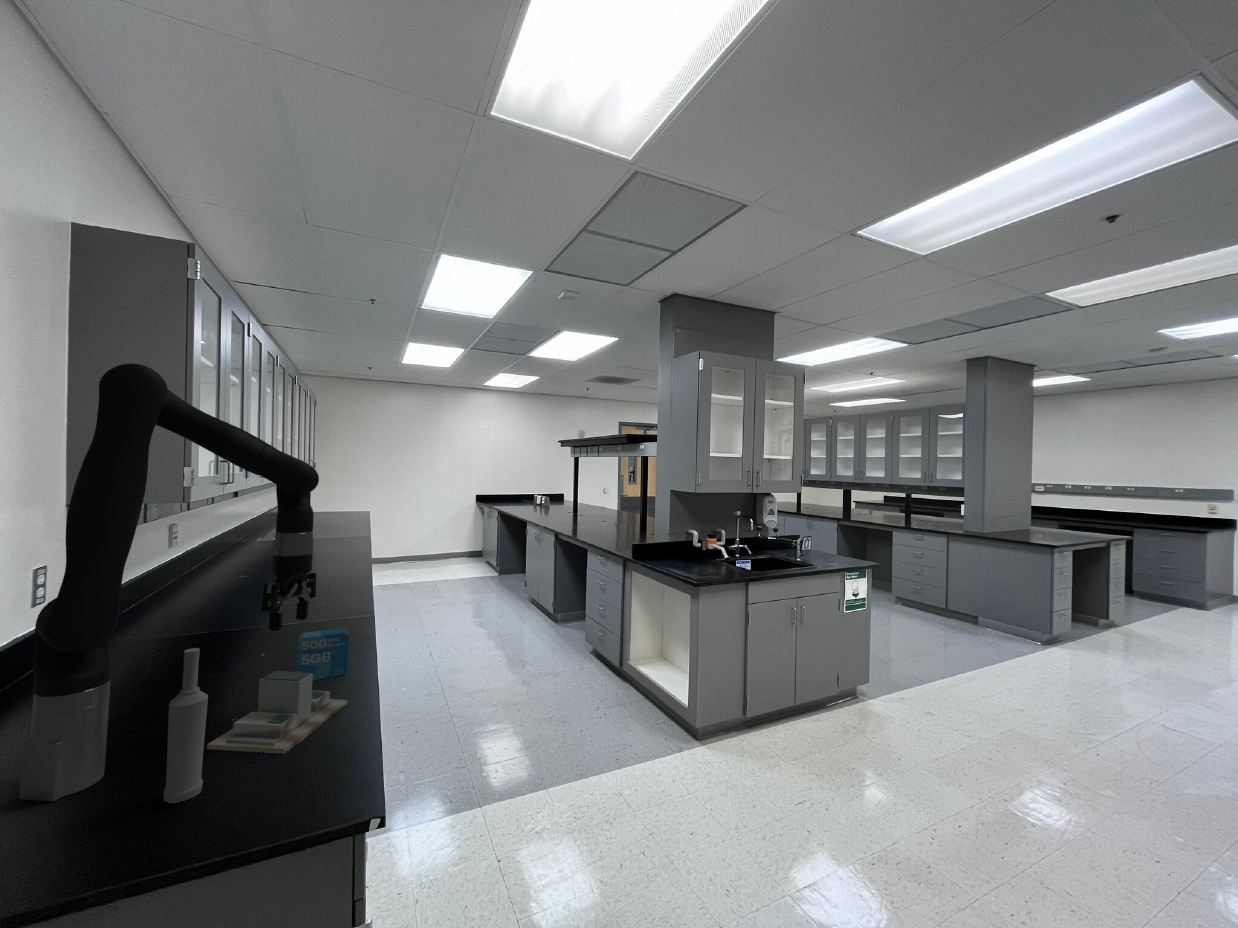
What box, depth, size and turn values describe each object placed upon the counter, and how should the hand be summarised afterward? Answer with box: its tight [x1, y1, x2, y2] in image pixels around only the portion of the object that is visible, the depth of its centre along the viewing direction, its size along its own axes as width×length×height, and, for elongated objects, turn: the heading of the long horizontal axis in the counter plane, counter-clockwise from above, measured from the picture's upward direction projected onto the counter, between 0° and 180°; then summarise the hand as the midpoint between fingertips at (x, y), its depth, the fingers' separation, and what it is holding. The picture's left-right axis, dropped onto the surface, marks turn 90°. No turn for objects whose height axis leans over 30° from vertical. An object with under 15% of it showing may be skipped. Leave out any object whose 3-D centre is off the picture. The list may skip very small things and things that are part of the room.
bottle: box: [163, 647, 209, 803], centre depth 87 cm, size 5×5×25 cm
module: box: [257, 670, 313, 724], centre depth 112 cm, size 4×9×9 cm, turn 88°
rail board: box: [206, 690, 349, 755], centre depth 112 cm, size 22×16×4 cm
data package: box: [295, 628, 350, 681], centre depth 138 cm, size 12×4×12 cm, turn 124°
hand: (288, 624), depth 112 cm, fingers open, 8 cm apart
